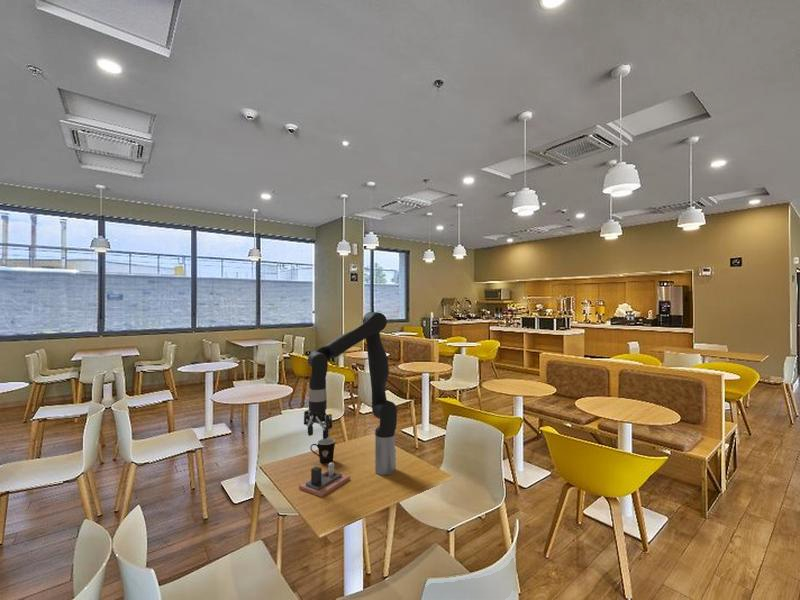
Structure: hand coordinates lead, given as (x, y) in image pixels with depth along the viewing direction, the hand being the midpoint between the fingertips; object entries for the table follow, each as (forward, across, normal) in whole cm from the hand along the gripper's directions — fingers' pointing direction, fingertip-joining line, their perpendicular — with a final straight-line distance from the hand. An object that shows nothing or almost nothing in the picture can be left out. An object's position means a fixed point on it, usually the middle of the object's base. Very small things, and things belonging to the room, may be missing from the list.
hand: (317, 436), depth 158 cm
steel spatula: (+20, 0, -4) cm, 21 cm away
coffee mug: (+22, +18, -22) cm, 36 cm away
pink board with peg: (+22, 0, -4) cm, 22 cm away
